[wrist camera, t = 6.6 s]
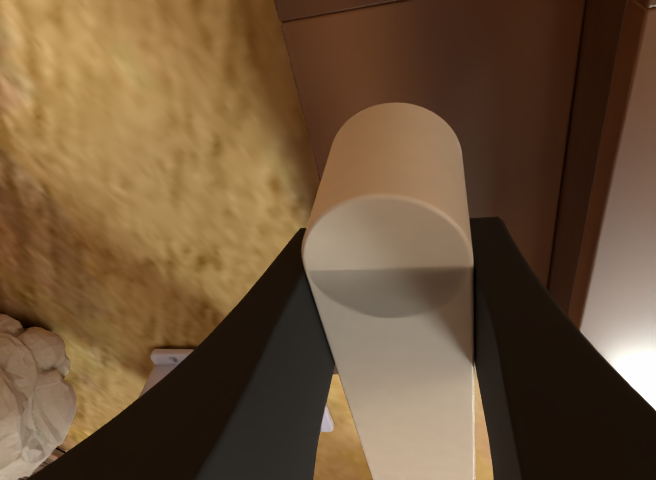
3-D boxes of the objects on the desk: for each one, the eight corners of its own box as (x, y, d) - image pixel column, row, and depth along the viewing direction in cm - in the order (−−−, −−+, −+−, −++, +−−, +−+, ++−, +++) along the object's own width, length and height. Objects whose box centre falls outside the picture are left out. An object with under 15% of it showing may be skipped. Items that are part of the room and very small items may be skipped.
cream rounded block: (317, 424, 18) (300, 513, 16) (191, 126, 10) (118, 215, 8) (468, 431, 17) (476, 530, 14) (461, 92, 9) (473, 188, 6)
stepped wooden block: (367, 334, 23) (356, 430, 19) (284, -23, 13) (227, 33, 9) (712, 334, 19) (780, 453, 16) (959, -162, 9) (1308, -161, 6)
